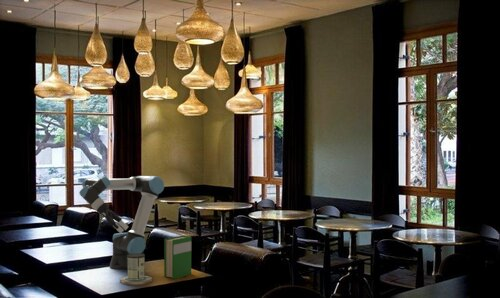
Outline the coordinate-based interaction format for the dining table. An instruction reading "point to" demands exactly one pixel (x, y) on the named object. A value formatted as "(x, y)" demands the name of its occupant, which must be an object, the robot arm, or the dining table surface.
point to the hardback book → (177, 256)
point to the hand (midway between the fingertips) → (124, 230)
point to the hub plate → (135, 281)
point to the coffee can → (136, 266)
